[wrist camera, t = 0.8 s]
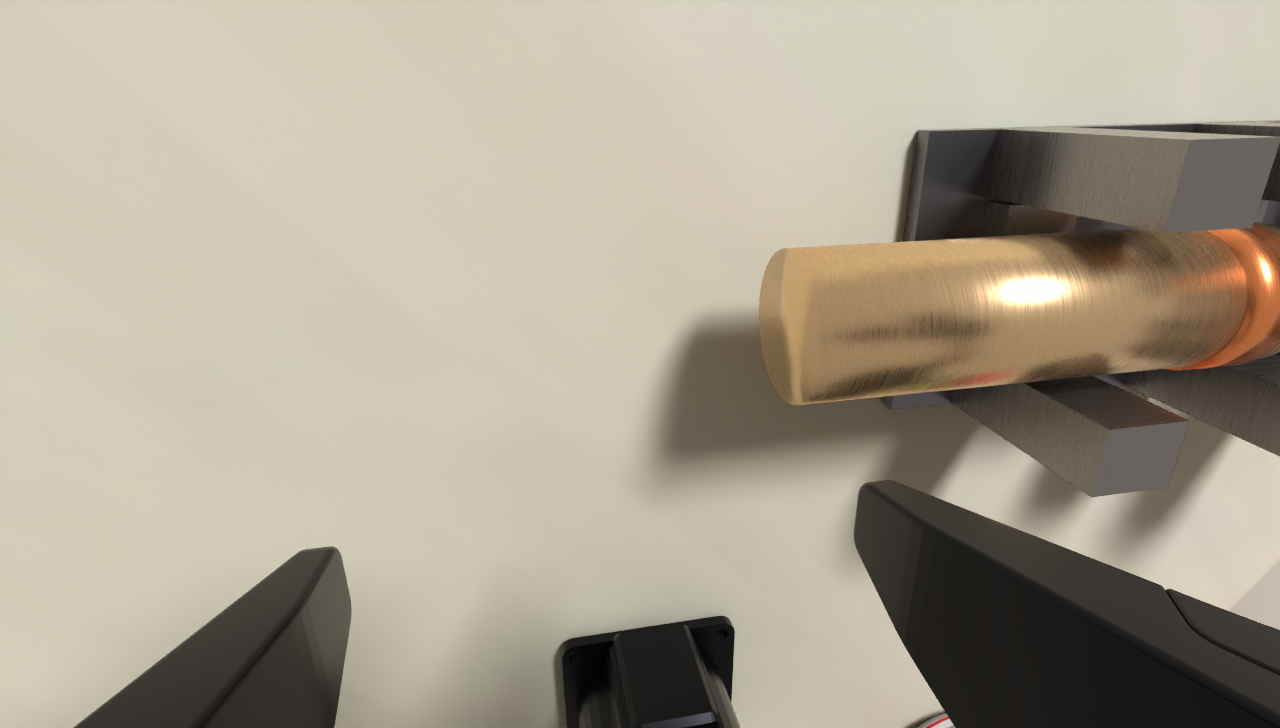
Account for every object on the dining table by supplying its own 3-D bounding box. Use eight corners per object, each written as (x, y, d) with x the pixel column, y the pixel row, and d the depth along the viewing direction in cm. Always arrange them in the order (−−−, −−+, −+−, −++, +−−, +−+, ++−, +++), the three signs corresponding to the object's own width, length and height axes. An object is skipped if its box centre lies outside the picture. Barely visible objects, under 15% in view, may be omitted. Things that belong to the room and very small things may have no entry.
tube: (1156, 336, 22) (1293, 386, 18) (754, 372, 20) (814, 438, 16) (1193, 208, 20) (1351, 232, 17) (761, 230, 18) (830, 265, 14)
